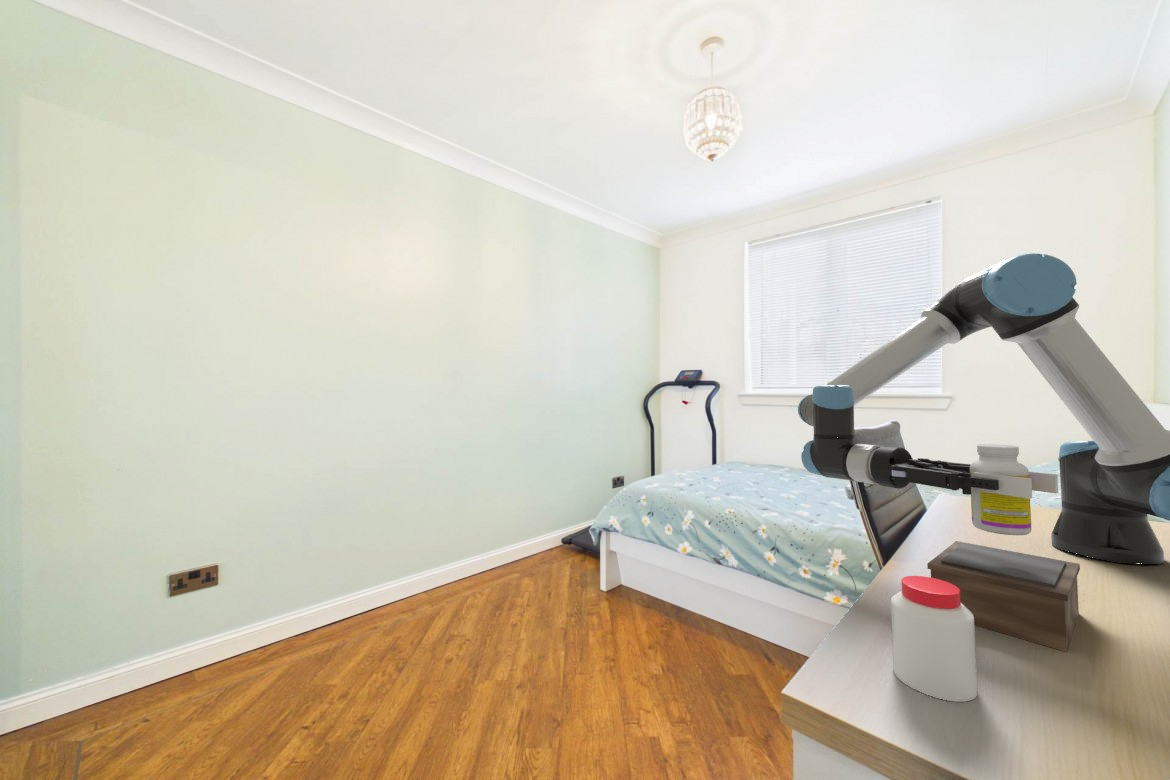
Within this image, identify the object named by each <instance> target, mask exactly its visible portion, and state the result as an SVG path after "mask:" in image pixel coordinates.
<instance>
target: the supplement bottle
mask: <svg viewBox="0 0 1170 780" xmlns="http://www.w3.org/2000/svg"><path fill="white" fill-rule="evenodd" d="M976 448H977V449H976V452H977V455H979V456H978V459H977V460H975V461H973V462H972V463H971V465H970V474H971V477H973V472H978V473H987V474H995V475H1004V476H1013V477H1021V478H1029V469H1028V467H1027V466H1026V465H1025V464H1022V463H1021V462H1019V461H1018V457H1019V455H1020V450H1019V449H1020V448H1019V446H1016V445H1011V444H1009V445H1008V444H992V443H990V444H989V443H988V444H986V443H985V444H981V443H980V444H977V445H976ZM970 503H971V504H970V505H971V507H970V509H971V522H972V525H973V526H974V527H975V529H976V528H977V529H978V530H981V531H984V532H987V533H993V534H997V535H1005V536H1027V535H1029V534H1031V532H1032V516H1031V515H1032V514H1031V513H1032V512H1031V499H1028V498H1021V497H1014V496H1008V495H1001V494H994V493H987V492H981V491H974V490H973V487H971V495H970Z"/></svg>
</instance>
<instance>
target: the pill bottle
mask: <svg viewBox="0 0 1170 780" xmlns="http://www.w3.org/2000/svg"><path fill="white" fill-rule="evenodd" d="M900 582H901V583H900V584H901V590H900V591H898V592H897V593H895V594H893V595H892V596H891V598H890V616H891V644H892V645H891V647H892V649H891V650H892V671H893V672H894V675H895V676H896V678H897V679H899V680H900V681H901V682H902V683H903V684H904V685H905V686H907V685H908V687H909V688H911V689H912V690H914V689H916V690H918V691H921V692H922V693H921V692H920V693H921V694H923V693H925V694H928V695H931V696H934V697H936V698H935V699H938V698H939V700H941V699H943V700H942V701H946V700H947V701H948V702H953V703H962V702H963V703H965V702H970V701H972V700H974V699H976V698H977V695H978V676H977V675H978V674H977V673H978V672H977V670H978V669H977V650H976V649H977V648H976V647H977V646H976V625H975V620H974V616H973V614H972V613H971V611H970V610H969V609H968V608H966V607H965V606H964V605H963V604H962V603H961V597H960V589H959V588H958V587H956V586H955V585H953V584H951V583H948V582H946V581H943V580H939V579H935V578H931V576H930V577H928V576H922V575H908V576H903V577H902V578H901V581H900ZM916 690H915V691H916ZM918 691H917V692H918ZM925 694H924V695H925ZM928 695H927V696H928ZM931 696H930V697H931ZM934 697H933V698H934Z"/></svg>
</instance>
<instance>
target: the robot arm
mask: <svg viewBox="0 0 1170 780" xmlns="http://www.w3.org/2000/svg"><path fill="white" fill-rule="evenodd" d="M1077 284H1078V283H1077V277H1076V275H1075V272H1074V271H1073V269H1072V268H1071V266H1069V265H1068V263H1066V262H1065V261H1063V260H1061V259H1060V258H1058V257H1055V256H1053V255H1049V254H1045V253H1033V252H1032V253H1024V254H1019V255H1017V256H1014V257H1010V258H1005V259H1003V260H1001V261H999V262H996V263H995V264H993V265H991V266H989V267H987V268H985V269H983V270H982V271H979V272H977V273H974V274H972V275H969V276H968V277H966V278H965V279H963V280H962V281H960V282H959V283H957V284H956V285H955V286H954V287H953V288H951V289H950V290H949V291H947V292H946V293H945V294H944V295H943V296H942V297H940V298H938V299H937V301H935V302H934V303H933V304H931V305H930V306H929V307H927V308H925V309H924V310H923V311H922V312H921V313H920V318H919V319H918V320H917V321H915V322H913V324H911V325H910V326H909V327H906V328H905V329H904V330H903V331H901V332H900V333H898V334H897V335H896V336H894V337H892V338H891V339H890V340H888V341H887V342H885V343H884V344H882V345H881V346H879V347H878V348H877V349H875V350H874V351H873V352H871V353H870V354H868V355H867V356H865V357H864V358H862V359H861V360H860V361H858V362H857V363H855V364H854V365H853V366H851V367H849V368H848V369H847V370H846V371H844V372H842V373H841V374H839V375H838V376H837V377H835V378H834V379H832V380H831V381H830V382H828V383H827V384H825V385H816V386H814V387H813V388H812V393H811V394H810V395H806V396H805V397H804V398H802V399H801V400H800V402H799V403H798V405H797V413H798V417H799V418H800V420H802V421H803V422H804V423H805V424H807V425H809V426H811V427H813V438H812V439H813V440H809V441H807V442H806V443H805V444H804V446H803V451H802V452H801V455H800V456H801V458H800V459H801V462H802V465H803V467H804V468H805V470H806V471H807V472H809V473H811V474H813V475H818V476H821V477H825V478H830V479H839V480H844V481H845V480H846V481H852V482H857V483H863V486H865V487H870V485H877V486H881V487H886V488H891V489H898V490H900V489H905V488H906V487H907V486H908V485H909V484H910V483H911V484H917V485H923V486H929V487H934V488H935V487H936V488H940V489H947V490H951V491H960V490H962V491H961V492H962V495H966V496H967V495H970V496H971V487H973V490H974V491H981V492H987V493H994V494H1001V495H1008V496H1014V497H1021V498H1028V499H1030V500H1031V499H1033V492H1041V493H1042V492H1043V493H1049V494H1055V495H1056V494H1059V483H1060V497H1061V510H1060V511H1061V512H1060V514H1059V516H1058V518H1057V520H1056V521H1055V524H1054V528H1053V529H1052V532H1051V537H1050V538H1051V545H1052V547H1054V548H1056V549H1058V550H1060V549H1061V550H1060V551H1063V550H1065V551H1064V552H1066V551H1069V552H1073V553H1077V554H1080V555H1084V556H1088V557H1087V558H1089V557H1093V558H1096V559H1095V560H1099V559H1102V560H1101V561H1104V560H1107V561H1106V562H1110V561H1111V562H1112V563H1119V564H1125V563H1140V564H1141V563H1142V564H1158V565H1161V564H1160V563H1162V564H1164V563H1165V552H1164V549H1163V547H1162V545H1161V543H1160V541H1159V540H1158V537H1157V535H1156V533H1155V532H1154V529H1153V527H1152V526H1151V524H1150V522H1149V518H1148V515H1149V516H1153V517H1157V518H1160V519H1164V520H1166V521H1169V522H1170V430H1168V429H1166V428H1165V427H1164V426H1163V425H1162V423H1161V422H1160V421H1159V420H1158V418H1157V417H1156V416H1155V415H1154V414H1153V412H1152V411H1151V410H1150V409H1149V408H1148V407H1147V404H1145V403H1144V401H1143V400H1142V399H1141V398H1140V396H1139V395H1138V394H1137V393H1136V391H1135V390H1134V389H1133V388H1132V387H1131V386H1130V384H1129V383H1128V381H1126V379H1125V377H1123V375H1122V374H1121V373H1120V372H1119V370H1117V368H1116V367H1115V366H1114V364H1113V363H1112V362H1111V361H1110V359H1109V358H1108V357H1107V356H1106V355H1105V353H1104V352H1103V351H1102V350H1101V348H1100V347H1099V346H1098V344H1097V343H1096V342H1095V341H1094V340H1093V339H1092V338H1091V336H1090V335H1089V333H1087V331H1086V330H1085V329H1084V327H1083V326H1082V325H1081V324H1080V322H1079V321H1078V320H1077V319H1076V315H1077V313H1078V310H1079V308H1080V304H1079V303H1078V302H1077V301H1076V299H1075V298H1074V295H1075V293H1076V288H1075V286H1076V285H1077ZM988 328H992V329H993V330H994V331H995V333H996V334H997V335H998V336H999V338H1000V339H1001V340H1002V341H1006V342H1011V343H1015V344H1017V345H1018V347H1020V349H1021V350H1022V352H1024V354H1025V355H1026V356H1027V357H1028V359H1029V361H1031V362H1032V364H1033V365H1034V367H1035V368H1036V370H1038V371H1039V372H1040V374H1041V375H1042V377H1043V378H1044V379H1045V380H1046V382H1047V383H1048V384H1049V386H1050V387H1051V389H1052V390H1054V392H1055V393H1056V395H1057V396H1058V397H1059V398H1060V400H1061V401H1062V402H1063V403H1064V405H1065V406H1066V407H1067V409H1068V410H1069V411H1070V412H1071V414H1072V415H1073V417H1074V418H1075V419H1076V421H1077V422H1078V423H1079V424H1080V425H1081V426H1082V428H1083V429H1084V430H1085V432H1086V433H1087V434H1088V436H1089V437H1090V438H1091V439H1092V440H1076V441H1075V440H1074V441H1066V442H1065V441H1064V442H1063V443H1062V444H1061V445H1060V446H1059V453H1058V457H1057V459H1058V463H1059V476H1060V481H1059V477H1058V474H1056V473H1047V472H1039V471H1029V470H1028V471H1029V478H1021V477H1013V476H1004V475H995V474H987V473H978V472H973V477H971V474H970V465H971V464H972V463H971V464H970V463H963V462H962V463H961V462H960V463H959V462H951V461H943V460H931V459H929V458H924V457H923V458H917V459H916V458H915V459H913V457H912V455H911V453H910V452H909V451H908V450H907V449H906V448H903V447H899V446H898V447H897V446H888V445H887V446H885V445H884V446H883V445H878V444H869V443H867V444H866V443H855V406H857V405H858V404H860V403H861V402H863V401H864V400H865V399H867V398H869V397H870V396H871V395H873V394H874V393H876V392H877V391H879V390H881V389H882V388H883V387H885V386H886V385H888V384H889V383H891V382H892V381H893V380H895V379H896V378H898V377H899V376H901V375H903V374H904V373H905V372H907V371H909V370H911V368H913V367H914V366H916V365H918V364H919V363H921V362H922V361H923V360H924V359H926V358H928V357H930V356H931V355H932V354H934V353H935V352H937V351H938V350H939V349H941V348H944V346H945V345H947V344H952V345H955V344H957V343H959V342H960V341H962V340H963V339H965V338H966V337H968V336H971V335H972V334H974V333H976V332H980V331H982V330H984V329H985V330H986V329H988ZM837 437H838V438H837ZM1069 552H1068V553H1069ZM1080 555H1079V556H1080ZM1084 556H1083V557H1084ZM1093 558H1092V559H1093ZM1111 562H1110V563H1111ZM1163 562H1164V563H1163Z"/></svg>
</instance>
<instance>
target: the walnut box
mask: <svg viewBox="0 0 1170 780" xmlns="http://www.w3.org/2000/svg"><path fill="white" fill-rule="evenodd" d="M927 570H930V578H935V579H939V580H943V581H946V582H948V583H951V584H953V585H955V586H956V587H958V588H959V589H960V597H961V603H962V604H963V605H964V606H965V607H966V608H968V609H969V610H970V611H971V613H972V614H973V616H974V620H975V627H980V628H983V629H987V630H991V631H994V632H997V633H1000V634H1004V635H1007V636H1010V637H1015V638H1018V639H1020V640H1024V641H1028V642H1031V643H1035V644H1039V645H1042V646H1044V647H1048V648H1051V649H1055V650H1059V651H1061V652H1062V651H1063V652H1065V653H1067V652H1068V649H1069V647H1070V643H1071V639H1072V637H1073V633H1074V630H1075V628H1076V627H1075V626H1076V623H1077V621H1078V617H1079V612H1080V611H1079V591H1078V588H1079V586H1078V575H1079V572H1080V570H1081V565H1080V563H1077V562H1073V561H1066V560H1061V559H1055V558H1050V557H1045V556H1040V555H1033V554H1029V553H1023V552H1019V551H1018V552H1017V551H1012V550H1007V549H1002V548H996V547H991V546H987V545H985V546H984V545H980V544H974V543H969V542H963V541H960V540H959V541H958V540H955V541H954V542H953V543H952V544H950V545H949V546H948V547H946V548H945V549H944V550H942V551H941V552H940V553H939V554H937V556H935V557H934V558H932V559H931V560H930V561H929V562H928V563H927Z"/></svg>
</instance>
